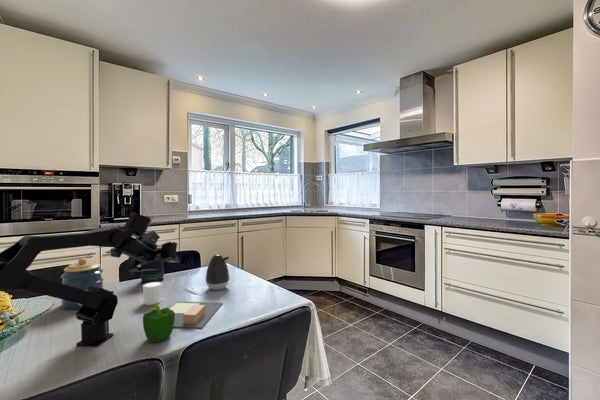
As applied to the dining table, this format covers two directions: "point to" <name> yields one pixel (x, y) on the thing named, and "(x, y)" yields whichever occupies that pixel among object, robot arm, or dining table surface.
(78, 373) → the dining table surface
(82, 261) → the canister
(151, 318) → the bell pepper
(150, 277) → the storage jar
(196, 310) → the flat block
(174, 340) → the dining table surface
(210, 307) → the rubber mat
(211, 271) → the pump dispenser
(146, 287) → the white cup
